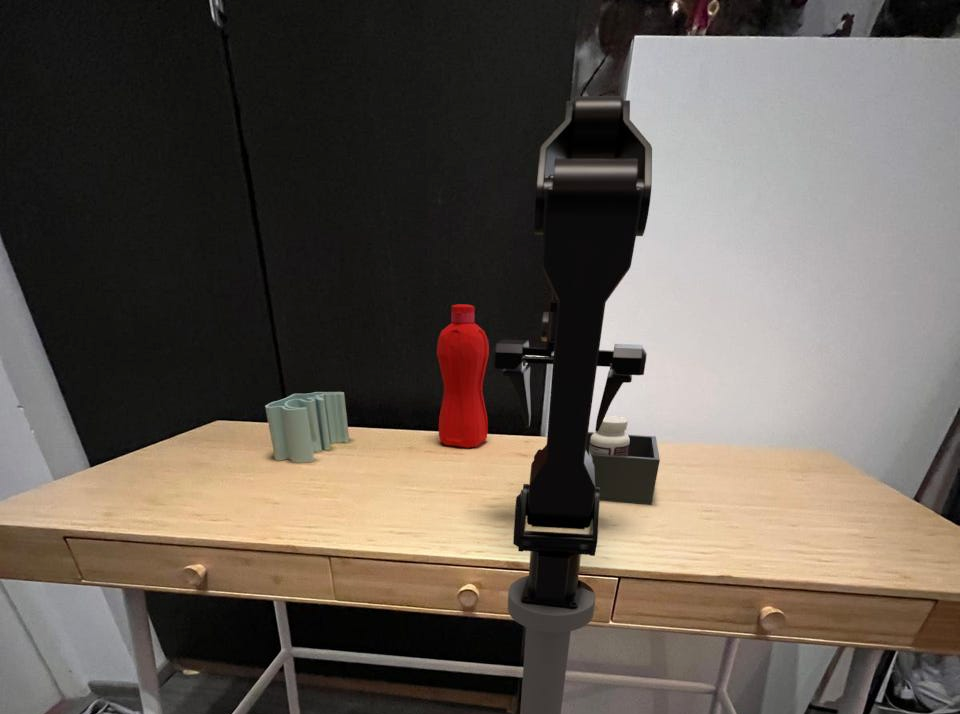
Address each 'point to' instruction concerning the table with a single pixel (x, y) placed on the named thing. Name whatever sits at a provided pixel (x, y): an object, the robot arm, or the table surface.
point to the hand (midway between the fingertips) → (562, 428)
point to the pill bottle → (611, 437)
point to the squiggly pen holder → (306, 424)
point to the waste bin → (628, 471)
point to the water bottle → (463, 379)
